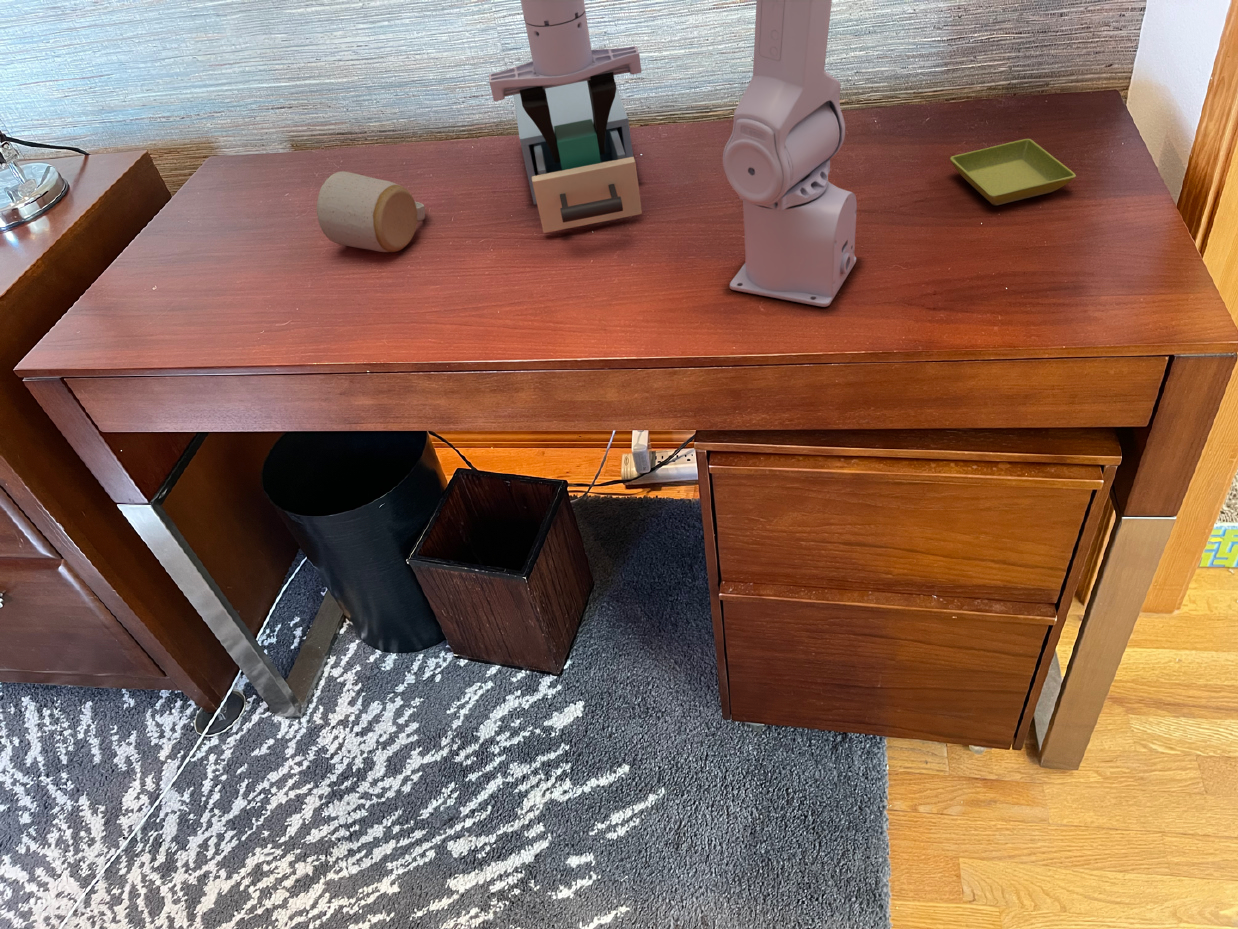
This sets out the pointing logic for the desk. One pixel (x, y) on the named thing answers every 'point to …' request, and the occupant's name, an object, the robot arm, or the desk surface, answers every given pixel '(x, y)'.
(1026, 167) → the olive green square dish
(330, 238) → the ceramic mug
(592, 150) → the green cube
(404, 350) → the desk surface
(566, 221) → the drawer
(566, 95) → the grey cabinet
